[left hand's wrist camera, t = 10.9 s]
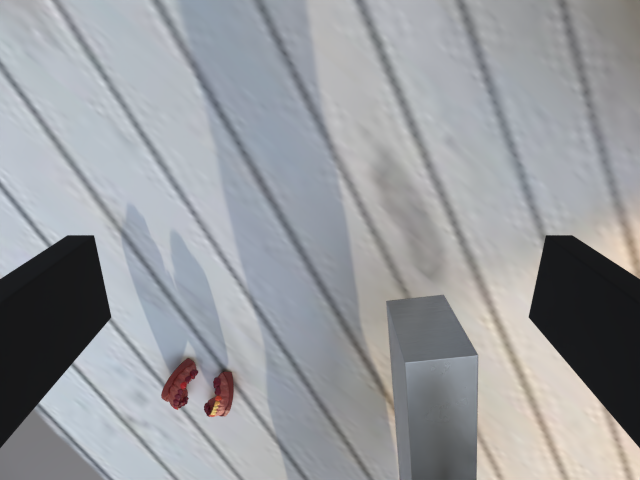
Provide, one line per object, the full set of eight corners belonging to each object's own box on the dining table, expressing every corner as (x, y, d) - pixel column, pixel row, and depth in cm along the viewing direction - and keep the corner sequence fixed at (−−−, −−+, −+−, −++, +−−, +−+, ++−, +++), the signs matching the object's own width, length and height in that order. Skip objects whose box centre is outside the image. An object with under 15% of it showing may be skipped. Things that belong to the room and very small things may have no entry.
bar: (386, 300, 34) (404, 362, 27) (443, 294, 34) (478, 355, 27) (402, 520, 43) (419, 612, 36) (448, 516, 43) (474, 608, 36)
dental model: (221, 434, 49) (154, 413, 48) (228, 408, 53) (166, 388, 52) (236, 397, 48) (166, 375, 47) (242, 373, 52) (178, 352, 51)
